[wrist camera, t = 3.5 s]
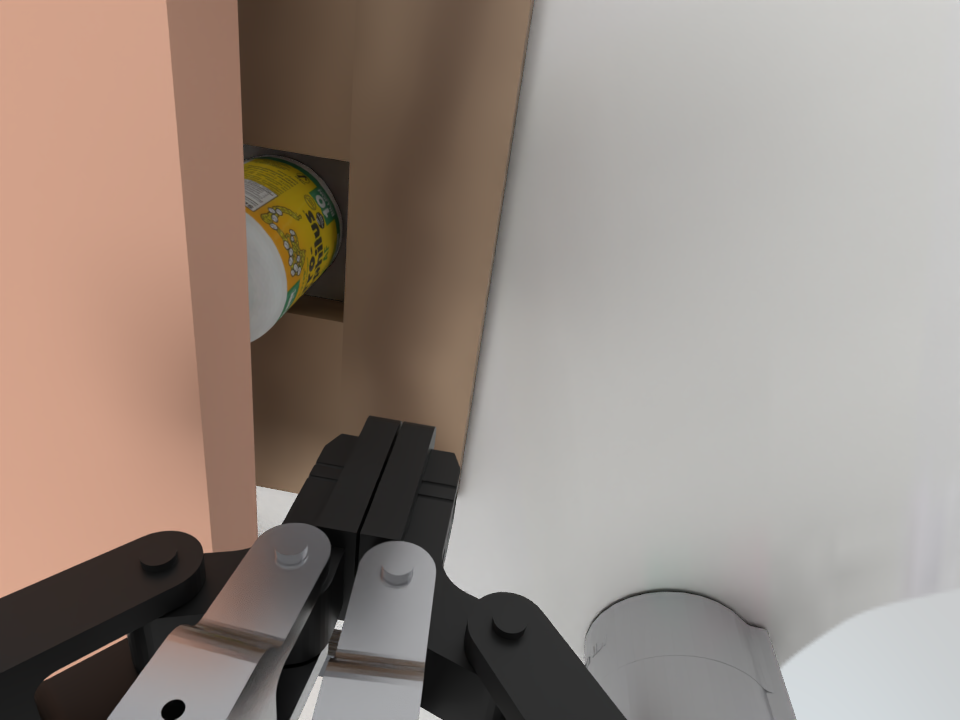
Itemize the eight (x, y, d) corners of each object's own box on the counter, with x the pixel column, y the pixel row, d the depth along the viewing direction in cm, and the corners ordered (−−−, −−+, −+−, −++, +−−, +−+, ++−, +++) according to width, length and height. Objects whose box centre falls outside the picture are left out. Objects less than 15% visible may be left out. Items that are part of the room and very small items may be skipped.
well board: (554, -129, 21) (553, -143, 19) (457, 496, 33) (451, 522, 31) (-266, -250, 22) (-340, -274, 20) (-63, 397, 34) (-97, 418, 32)
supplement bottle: (227, 136, 26) (64, 192, 17) (356, 175, 26) (254, 250, 18) (218, 259, 28) (71, 359, 20) (336, 294, 29) (238, 409, 20)
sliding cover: (227, -249, 11) (139, -318, 8) (262, 677, 22) (229, 750, 20) (-229, -314, 11) (-430, -398, 9) (39, 632, 22) (-19, 699, 20)
